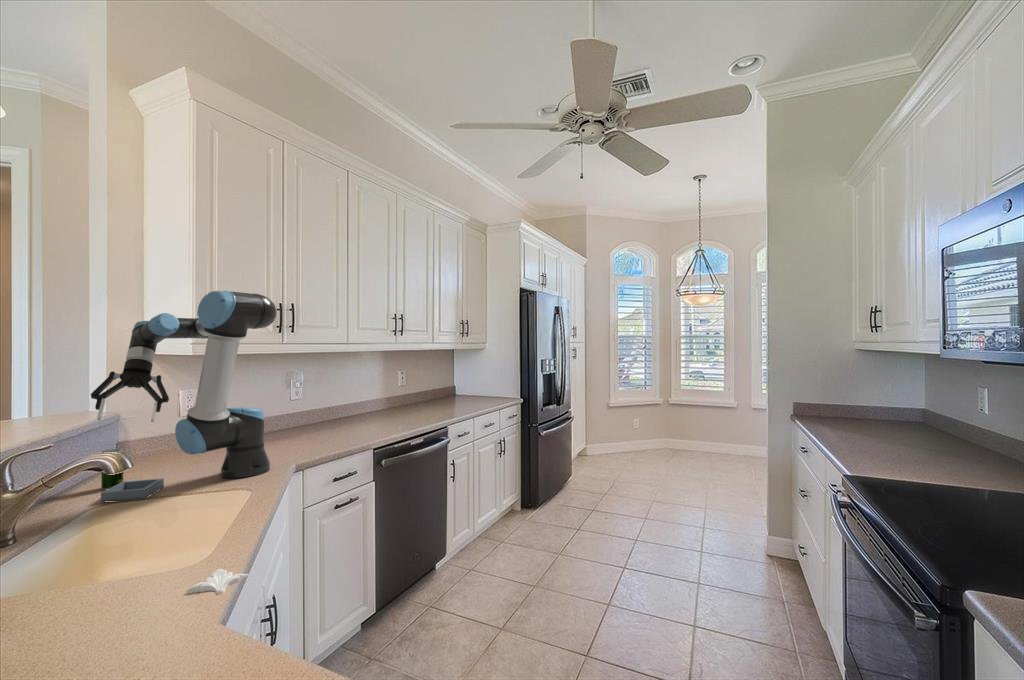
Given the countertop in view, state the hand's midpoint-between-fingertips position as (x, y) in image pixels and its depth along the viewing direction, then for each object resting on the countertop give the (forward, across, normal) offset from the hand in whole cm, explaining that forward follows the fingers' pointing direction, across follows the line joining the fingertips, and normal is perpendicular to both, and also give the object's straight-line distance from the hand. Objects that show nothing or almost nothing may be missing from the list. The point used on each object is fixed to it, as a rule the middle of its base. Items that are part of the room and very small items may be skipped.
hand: (126, 420), depth 147 cm
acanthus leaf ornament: (+59, -23, +73) cm, 97 cm away
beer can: (+20, 0, -10) cm, 22 cm away
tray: (+25, -6, +3) cm, 26 cm away
